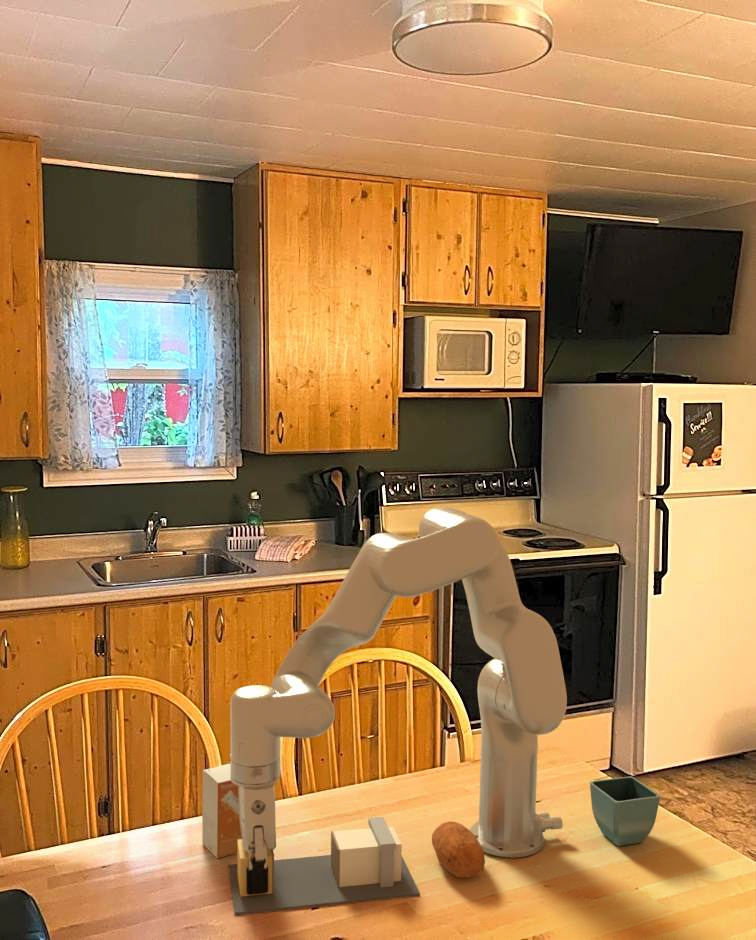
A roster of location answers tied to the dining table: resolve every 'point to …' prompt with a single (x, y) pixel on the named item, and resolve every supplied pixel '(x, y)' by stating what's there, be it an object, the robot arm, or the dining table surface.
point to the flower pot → (624, 809)
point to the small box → (220, 812)
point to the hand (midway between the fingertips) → (255, 880)
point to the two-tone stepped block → (366, 855)
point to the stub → (243, 865)
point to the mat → (314, 887)
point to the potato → (458, 849)
